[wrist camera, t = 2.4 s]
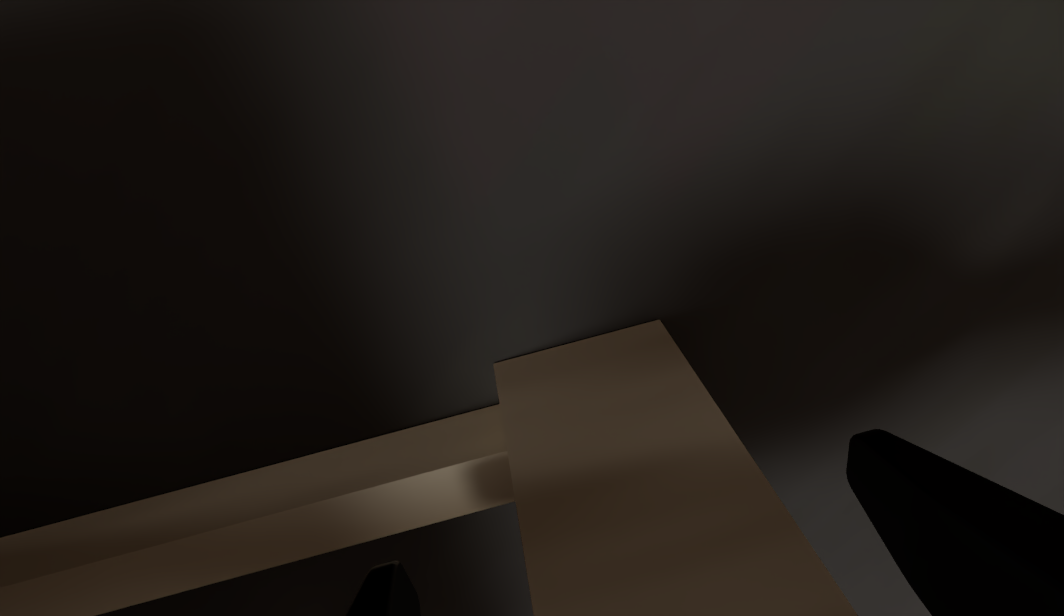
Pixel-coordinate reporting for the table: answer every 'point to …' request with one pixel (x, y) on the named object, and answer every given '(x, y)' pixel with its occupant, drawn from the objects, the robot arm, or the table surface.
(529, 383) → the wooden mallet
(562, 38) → the table surface
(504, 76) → the table surface
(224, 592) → the table surface
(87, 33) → the table surface
